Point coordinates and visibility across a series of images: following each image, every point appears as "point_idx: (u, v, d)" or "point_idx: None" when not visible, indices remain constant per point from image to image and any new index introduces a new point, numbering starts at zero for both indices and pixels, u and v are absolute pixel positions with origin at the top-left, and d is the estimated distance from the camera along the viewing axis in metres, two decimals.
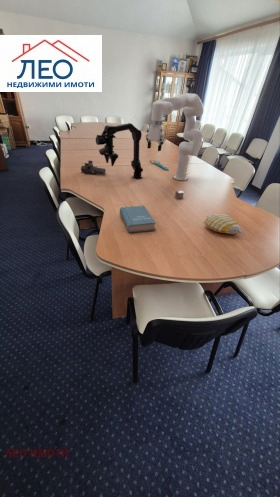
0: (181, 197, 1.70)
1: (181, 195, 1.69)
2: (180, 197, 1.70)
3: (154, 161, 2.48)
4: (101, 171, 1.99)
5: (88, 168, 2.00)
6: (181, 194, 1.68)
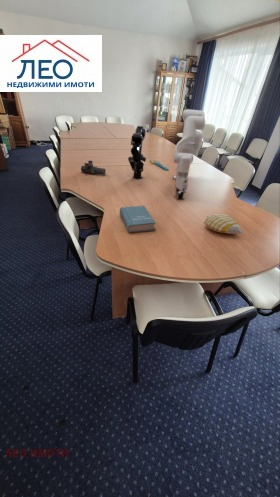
0: None
1: None
2: None
3: (154, 161, 2.48)
4: (101, 171, 1.99)
5: (88, 168, 2.00)
6: None
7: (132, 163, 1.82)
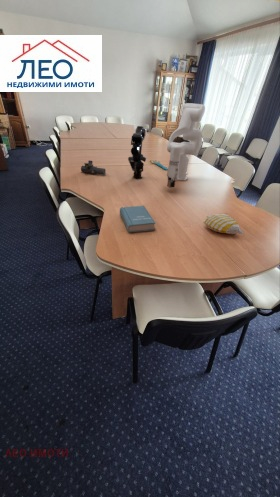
0: None
1: None
2: None
3: (154, 161, 2.48)
4: (101, 171, 1.99)
5: (88, 168, 2.00)
6: None
7: (132, 163, 1.82)
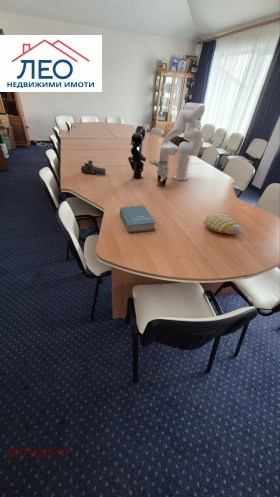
0: None
1: None
2: None
3: (154, 161, 2.48)
4: (101, 171, 1.99)
5: (88, 168, 2.00)
6: None
7: (132, 163, 1.82)
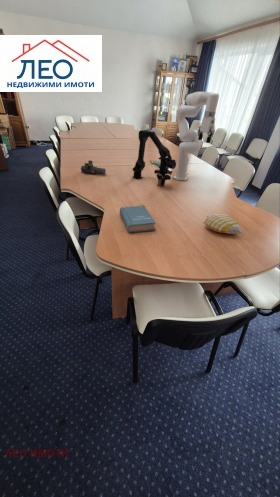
0: (163, 185, 1.88)
1: None
2: None
3: (154, 161, 2.48)
4: (101, 171, 1.99)
5: (88, 168, 2.00)
6: None
7: (159, 177, 1.88)
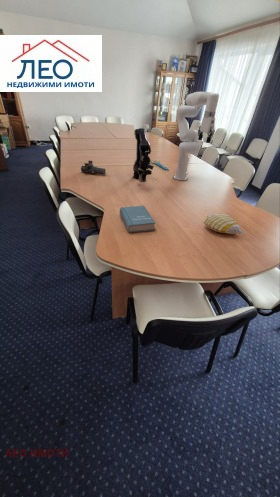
0: (144, 180, 1.81)
1: None
2: None
3: (154, 161, 2.48)
4: (101, 171, 1.99)
5: (88, 168, 2.00)
6: None
7: (140, 172, 1.80)
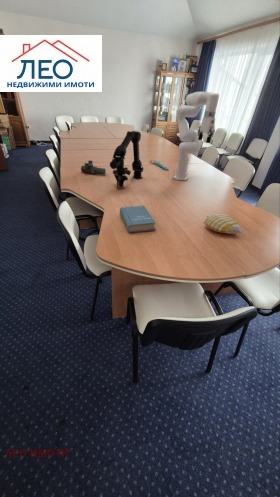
0: (122, 187, 1.79)
1: (122, 186, 1.78)
2: (121, 187, 1.78)
3: (154, 161, 2.48)
4: (101, 171, 1.99)
5: (88, 168, 2.00)
6: None
7: (117, 177, 1.78)
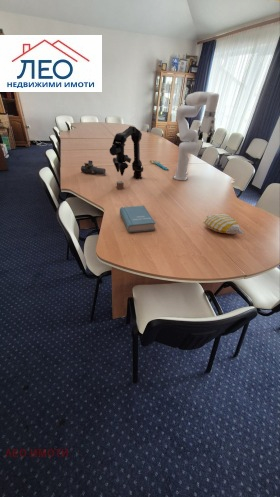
0: (122, 187, 1.79)
1: (122, 186, 1.78)
2: (121, 187, 1.78)
3: (154, 161, 2.48)
4: (101, 171, 1.99)
5: (88, 168, 2.00)
6: (121, 184, 1.77)
7: (117, 164, 1.73)
